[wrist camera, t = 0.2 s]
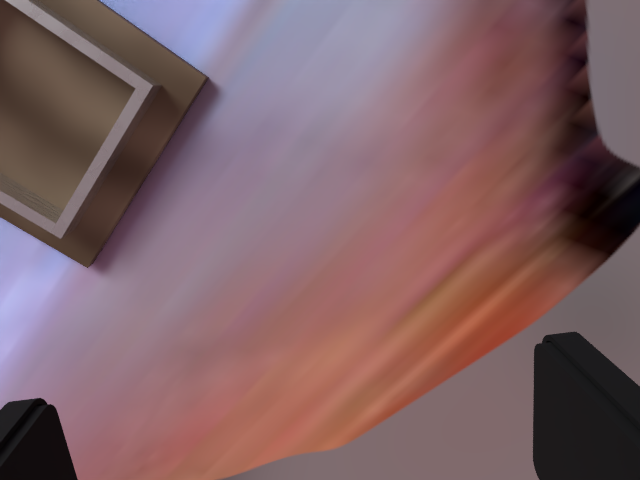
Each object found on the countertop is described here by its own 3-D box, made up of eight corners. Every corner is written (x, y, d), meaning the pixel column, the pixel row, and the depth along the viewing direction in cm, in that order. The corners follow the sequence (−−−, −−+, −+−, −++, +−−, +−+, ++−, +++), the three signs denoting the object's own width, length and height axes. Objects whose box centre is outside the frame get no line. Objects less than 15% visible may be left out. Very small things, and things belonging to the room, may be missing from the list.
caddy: (-17, -81, 34) (-53, -100, 30) (208, 77, 38) (199, 76, 34) (-122, 136, 38) (-165, 142, 34) (93, 262, 41) (74, 279, 38)
